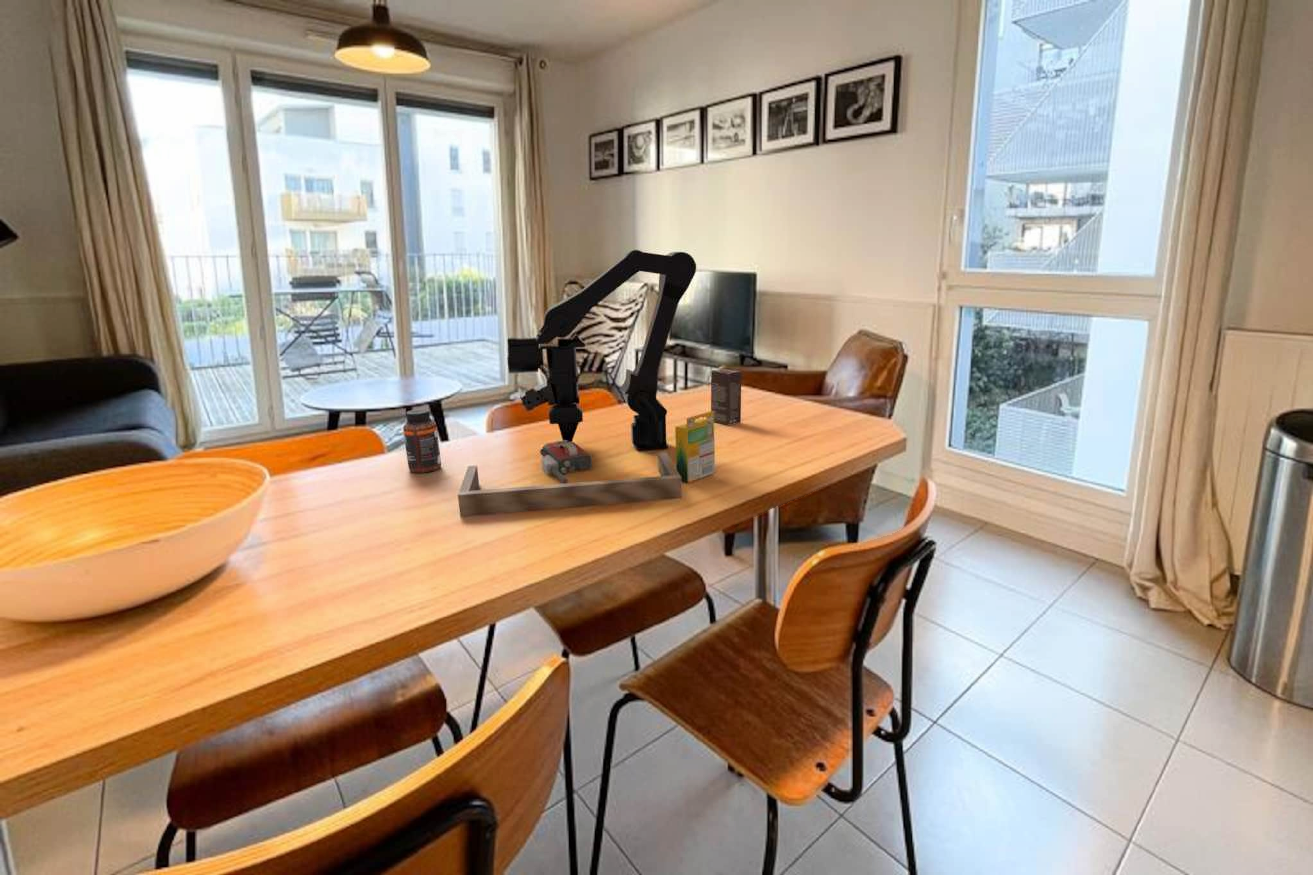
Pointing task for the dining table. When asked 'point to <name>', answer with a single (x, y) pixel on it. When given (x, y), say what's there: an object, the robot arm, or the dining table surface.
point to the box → (726, 396)
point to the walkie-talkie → (564, 458)
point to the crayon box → (695, 447)
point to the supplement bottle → (421, 442)
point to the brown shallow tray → (569, 492)
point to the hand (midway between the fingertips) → (567, 446)
